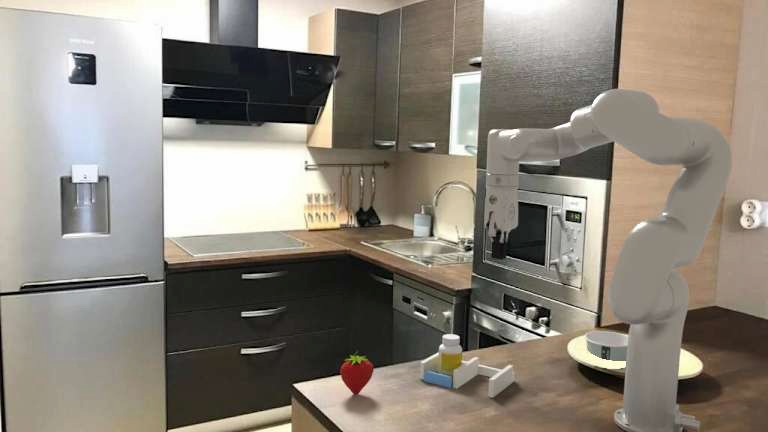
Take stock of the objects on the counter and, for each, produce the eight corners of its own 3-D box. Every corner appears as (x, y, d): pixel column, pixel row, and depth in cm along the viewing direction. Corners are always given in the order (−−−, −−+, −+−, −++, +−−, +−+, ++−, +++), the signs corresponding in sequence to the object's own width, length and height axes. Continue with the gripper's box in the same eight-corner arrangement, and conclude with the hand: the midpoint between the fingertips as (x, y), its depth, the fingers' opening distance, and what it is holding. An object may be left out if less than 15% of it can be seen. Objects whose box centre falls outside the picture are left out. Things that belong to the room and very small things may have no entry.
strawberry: (378, 396, 139) (379, 351, 137) (347, 402, 135) (347, 356, 134) (365, 386, 144) (366, 343, 142) (334, 392, 140) (335, 348, 139)
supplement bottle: (465, 380, 149) (467, 339, 148) (444, 382, 147) (446, 341, 146) (454, 371, 154) (455, 332, 153) (433, 374, 152) (435, 334, 151)
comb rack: (514, 381, 149) (514, 364, 148) (491, 398, 138) (492, 381, 138) (444, 364, 159) (445, 348, 158) (418, 379, 148) (418, 362, 148)
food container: (635, 374, 155) (637, 348, 154) (583, 368, 158) (585, 342, 157) (630, 358, 166) (632, 333, 166) (582, 353, 170) (583, 328, 169)
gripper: (504, 184, 144) (500, 265, 146) (528, 181, 156) (525, 255, 159) (473, 182, 148) (470, 261, 150) (499, 179, 160) (496, 252, 163)
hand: (498, 258), depth 154 cm, fingers closed
